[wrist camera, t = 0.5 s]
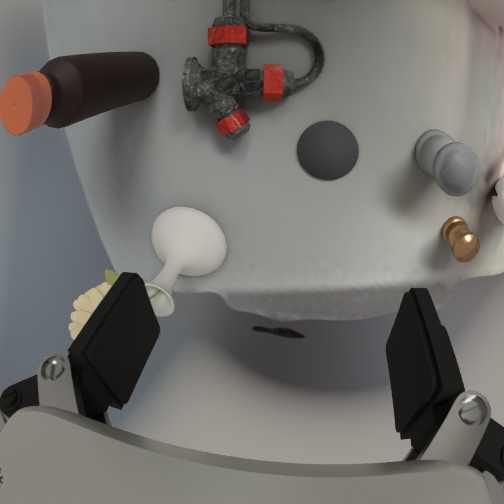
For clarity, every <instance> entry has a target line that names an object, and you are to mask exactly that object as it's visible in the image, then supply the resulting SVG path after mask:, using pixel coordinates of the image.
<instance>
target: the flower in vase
mask: <svg viewBox="0 0 504 504" xmlns="http://www.w3.org/2000/svg"><path fill="white" fill-rule="evenodd" d="M151 241H152V245H153V248H154V251H155V253H156V254H157V256H158V257H159V259H160V260H161V261H162V262H163V263H164V264H165V265H164V266H163V268H162V270H161V271H160V272H159V274H158V275H157V276H156V277H155V278H154V279H153V280H152V281H150V282H149V283H144V284H145V287H146V290H147V293H148V296H149V299H150V301H151V304H152V307H153V310H154V313H155V315H156V316H161V317H165V316H168V315H170V314H172V313H173V311H174V302H173V299H172V290H173V287H174V284H175V281H176V279H177V277H178V276H179V274H182V275H187V276H203V275H207V274H209V273H211V272H213V271H214V270H216V269H217V268H218V267H219V266H220V265H221V264H222V263H223V261H224V259H225V256H226V252H227V244H226V239H225V236H224V234H223V232H222V230H221V228H220V227H219V226H218V224H217V223H216V222H215V221H214V220H213V219H212V218H211V217H209V216H208V215H207V214H205V213H203V212H201V211H199V210H196V209H193V208H189V207H173V208H170V209H167V210H165V211H163V212H162V213H161V214H160V215H159V216H158V217H157V218H156V220H155V221H154V224H153V227H152V233H151ZM119 276H120V275H119V274H117V273H115V272H112V271H110V270H107V269H105V279H106V282H104V283H102V284H101V285H98V286H97V287H96V288H92V289H90V290H89V291H87V292H86V293H85V295H80V296H79V297H78V300H75V301H74V303H73V306H74V308H75V310H76V311H75V312H73V313H72V314H71V319H72V321H73V322H72V323H71V324H70V325H69V331H70V332H71V337H72V339H74V340H75V338H76V337H77V335H78V334H79V332H80V331H81V329H82V328H83V326H84V325H85V323H86V322H87V321H88V319H89V318H90V316H91V315H92V313H93V312H94V310H95V309H96V308H97V306H98V305H99V303H100V302H101V301H102V299H103V298H104V296H105V295H106V294H107V292H108V291H109V289H110V288H111V287H112V285H113V284H114V283H115V281H116V280H117V279H118V277H119ZM159 337H160V334H159Z"/></svg>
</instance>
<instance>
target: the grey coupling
mask: <svg viewBox="0 0 504 504" xmlns="http://www.w3.org/2000/svg"><path fill="white" fill-rule="evenodd" d="M415 157H416V161H417V163H418V165H419V166H420V167H421V168H422V169H423V170H424V171H425V172H426V173H427V174H429V175H431V176H434V179H435V182H436V183H437V185H438V186H439V187H440V188H441V189H442V190H443V191H444V192H445V193H446V194H448V195H451V196H462V195H465V194H467V193H468V192H470V191H471V190H472V189H473V188H474V186H475V185H476V183H477V181H478V179H479V175H480V163H479V159H478V157H477V155H476V153H475V152H474V151H473V150H472V149H471V148H469V147H468V146H466V145H464V144H462V143H459V142H454V140H453V139H452V138H451V137H450V136H449V135H448V134H446V133H444V132H443V131H440V130H429V131H427V132H425V133H424V134H422V135H421V136H420V138H419V139H418V141H417V143H416V146H415Z"/></svg>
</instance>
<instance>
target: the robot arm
mask: <svg viewBox="0 0 504 504" xmlns="http://www.w3.org/2000/svg"><path fill="white" fill-rule="evenodd" d="M159 334H160V326H159V323H158V321H157V318H156V315H155V313H154V310H153V307H152V304H151V301H150V299H149V296H148V293H147V290H146V287H145V284H144V281H143V279H142V278H141V277H140V276H139V275H138V274H137V273H129V272H123V273H122V274H121V275H120V276H119V277H118V279H117V280H116V281H115V283H114V284H113V285H112V287H111V288H110V289H109V291H108V292H107V294H106V295H105V296H104V298H103V299H102V301H101V302H100V303H99V305H98V306H97V308H96V309H95V310H94V312H93V313H92V315H91V316H90V318H89V319H88V321H87V322H86V323H85V325H84V326H83V328H82V329H81V331H80V332H79V334H78V335H77V337H76V338H75V340H74V341H73V343H72V345H71V346H70V348H69V349H68V351H69V355H68V356H66V355H65V354H63V353H58V352H56V353H52V354H50V355H48V356H46V357H45V358H44V359H43V360H42V361H41V363H40V365H39V367H38V372H37V375H35V376H32V377H30V378H28V379H25V380H23V381H21V382H18V383H16V384H14V385H11V386H10V387H8V388H7V389H5V390H4V391H3V393H2V395H1V397H0V504H504V427H503V426H501V425H500V424H499V423H497V422H496V421H494V420H493V419H492V418H490V417H491V407H490V404H489V402H488V400H487V399H486V397H484V395H482V394H481V393H479V392H477V391H471V390H469V391H465V388H464V385H463V381H462V377H461V374H460V370H459V367H458V363H457V360H456V357H455V354H454V351H453V348H452V345H451V342H450V339H449V336H448V333H447V330H446V328H445V327H444V326H443V325H441V323H440V320H439V318H438V315H437V312H436V309H435V307H434V304H433V302H432V299H431V296H430V294H429V291H428V290H427V289H426V288H411V289H410V290H409V292H405V294H404V296H403V299H402V302H401V305H400V308H399V311H398V314H397V317H396V320H395V322H394V325H393V328H392V330H391V333H390V336H389V338H388V341H387V344H386V355H387V362H388V368H389V375H390V382H391V390H392V398H393V407H394V417H395V427H396V431H397V432H398V433H399V432H400V437H401V440H402V439H411V446H412V448H411V450H410V451H409V452H408V454H407V455H406V457H405V458H404V459H403V461H398V462H386V463H370V464H335V465H334V464H298V463H297V464H296V463H283V462H271V461H261V460H253V459H245V458H238V457H231V456H225V455H219V454H213V453H208V452H202V451H198V450H193V449H188V448H184V447H180V446H176V445H172V444H168V443H164V442H160V441H157V440H153V439H150V438H146V437H143V436H139V435H136V434H133V433H130V432H127V431H123V430H121V429H118V428H115V427H112V426H111V422H110V419H109V416H108V413H107V409H108V406H111V407H114V408H118V409H121V410H122V407H123V405H124V404H126V403H127V402H128V401H129V399H130V397H131V395H132V392H133V390H134V388H135V385H136V383H137V381H138V379H139V377H140V375H141V372H142V370H143V368H144V366H145V364H146V362H147V360H148V357H149V355H150V353H151V351H152V349H153V347H154V345H155V343H156V340H157V339H158V337H159Z"/></svg>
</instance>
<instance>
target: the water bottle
mask: <svg viewBox="0 0 504 504" xmlns="http://www.w3.org/2000/svg"><path fill="white" fill-rule="evenodd" d="M495 189H496V192H497V194H498V196H492V206H493V209H494V212H495V214H496V216H497V217H498V219H499V220H500V221H501V222H502V224H503V225H504V178H501V179H500V180H498V182H497V183H496V185H495Z"/></svg>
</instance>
